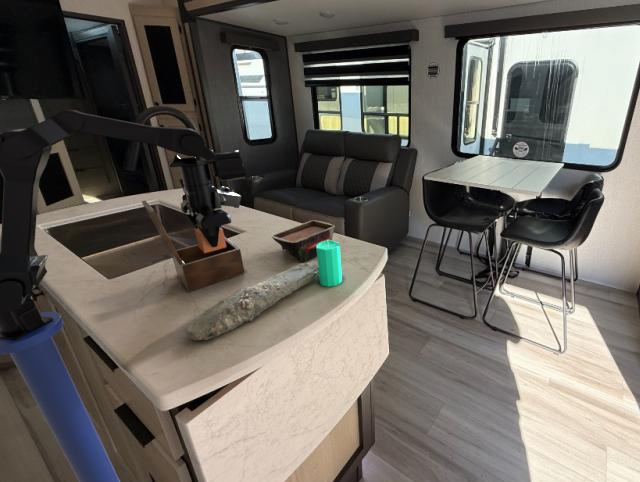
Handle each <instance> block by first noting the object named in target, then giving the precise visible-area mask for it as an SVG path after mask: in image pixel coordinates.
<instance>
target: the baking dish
mask: <svg viewBox="0 0 640 482" xmlns="http://www.w3.org/2000/svg"><path fill="white" fill-rule="evenodd" d="M335 230H336V225H334V224H332V223H329V222H325V221H321V220H315V219H314V220H309V221H307V222H304V223H301V224H299V225H296V226H293V227H291V228H288V229H285V230H283V231H280V232H277V233H274V234H272V235H271V238H272V239H273V240H274V242H276V243H278V245H280V246H281V249H282V251H286V252H287V253H289V254H290V255H291V256H292V257H293V258H294V259H295V260H297V261H298V262H300V263H306V262H310V260H311V261H312V260H313V259H315V258H317V249H316V246H317V245H318V244H319V243H320V242H323V241H327V239H328V240H332V241H333V236H334V232H335Z"/></svg>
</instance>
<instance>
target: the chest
mask: <svg viewBox="0 0 640 482" xmlns="http://www.w3.org/2000/svg"><path fill="white" fill-rule="evenodd" d="M224 238H225V243H226V247H225V248H222V249H218V250H215V251H211V252H208V253H204V252H203V251H202V250H201V249H200V248H199V246H198V243H197V244H193V245H191V246H186V247H183V248H178V249H176V251H177V253H178V255H179V257H180V258H181V260H182V262H183V264H181V265H179V264H178V262H177V261H176V260H175V258H174V257H173V256H172V255H171V257H172V261H173V264H174V268H175V273H176V275H177V277H178V279H179V280H180V281H181V283H182V284H183V285H184V287H185V288H186V291H188V292H189V293H190V292H193V291H195V290H199V289H201V288H204V287H207V286H210V285H212V284H216V283H218V282H221V281H224V280H228V279H231V278H232V277H236V276H239V275H241V274H245V267H244V261H243V257H242V252H241V248H239V247H238V246H237V245H236V244H235V243H233V242H232V241H231V240H230V239H228V238H227V237H226V236H224Z"/></svg>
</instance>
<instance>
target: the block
mask: <svg viewBox="0 0 640 482" xmlns="http://www.w3.org/2000/svg"><path fill="white" fill-rule="evenodd" d="M194 233H195V237H196V241H197V244H198V246H199V248H200V249H201V250H202V251H203V252H204V253H208V252H211V251H215V250H218V249H222V248H225V247H226V243H225V238H224V237H225V234H224V229H223V228H222V227H220V230H219V237H218V246H217V247H212V246H211V245H210V243H209V242H208V241H207V239H206V238H205V237H204V235H203V234H202V233H201V231H200V230H199V229H196V228H194Z"/></svg>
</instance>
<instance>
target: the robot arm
mask: <svg viewBox="0 0 640 482" xmlns="http://www.w3.org/2000/svg"><path fill="white" fill-rule="evenodd" d="M76 133H79V134H86V135H92V136H93V135H94V136H98V137H106V138H109V139H117V140H123V141H129V142H134V143H135V142H136V143H140V144H147V145H152V146H155V147H159V148H162V149H165V150H167V151H170V152H173V153H175V154H174V155H173V158H172V159H171V160H170V161H169V162H168V166H169V167H170V168H179V170H180V175H181V179H182V183H183V187H182V192H183V193H184V194H185V195H186V199H184V200H183V201H181V203H180V204H179V205H180V209H181V212H182V213H184V214H186V215H185V217H186V218H187V219H188V220H189V222H190V223H191V224H192V225H193V226H194V229H199V230H200V231H201V233H202V234H203V235H204V237H205V238H206V239H207V241H208V242H209V243H210V245H211V246H212V247H217V246H218V237H219V230H220V228H222V226H224V225H225V226H226V225H229V224H231V223H232V218H231V214H230V213H228V212H227V211H225V210H224V209H222V208H223V207H233V208H235V209H239V208H240V205H241V201H242V195H241V194H238V193H236V192H233V191H232V192H231V189H230V188H229V187H227V186H220V187H219V189H218V188H217V187H216V186H214V185H213V181H212V176H211V173H212V175H213V178H218V179H219V181H220V182H224V181H233V180H239V179H241V180H242V179H246V177H247V176H246V175H247V173H246V167H245V165H244V161H243V158H242V155H241V152H240V151H239V150H232V151H229V152H214V150H213V149H212V148H208V147H207V146H206V142H205V139H204V137H203V136H202V134H201V133H199V132H198V131H196V130H195V129H193V128H190V127H189V128H188V127H178V126H177V127H176V126H175V127H173V126H172V127H171V126H152V125H147V124H143V123H136V122H132V121H126V120H121V119H117V118H111V117H105V116H102V115H101V116H100V115H96V114H90V113H86V112H81V111H79V110H76V109H64V110H60V111H59V112H57V113H56V114H55V115H53V116H51V117H49V118H47V119H45V120H42V121H40V122H38V123H36V124H34V125H32V126H30V127H28V128H19V129H13V130H8V131H3V132H1V133H0V174H1V176H2V178H3V194H2V211H1V212H2V213H1V214H2V215H1V232H0V233H1V234H0V339H6V340H18V339H20V338H22V337H23V336H25V335H27V334H29V333H31V332H33V331H34V330H36V329H38V328H40V327H42V326H44V325H45V324H47V323H49V322H51V321H53V320H54V319H53V318H52V317H44V316H41V314H40V313H41V312H40V310H39V308H38V307H37V304H36V301H35V299H34V298H33V296H32V294H31V293H32V292H33V291H34V289H35V287H38V286H40V284H41V283H42V281H43V280H44V278H45V276H46V274H48V270H47V268H46V263H47V260H48V257H49V256H48V254H41V255H39V254H38V252H37V250H36V247H35V245H36V229H37V217H38V216H37V215H38V214H37V213H38V201H39V189H40V179H41V177H42V174H43V173H44V170H45V168H46V166H47V165H48V161H49V158H50V155H51V153H52V149H53V146H54V145H56V144H58V143H59V142H62V141H63V140H65V139H68V137H70V136H72V135H74V134H76ZM176 153H177V154H179V155H180V154H181V155H183V156H186V157H180V156H179V155H177V154H176ZM196 156H198V157H200V158H202V159H203V160H202V159H201V160H197V158H196ZM210 166H211V171H210ZM222 206H223V207H222ZM188 212H189V213H188Z"/></svg>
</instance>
